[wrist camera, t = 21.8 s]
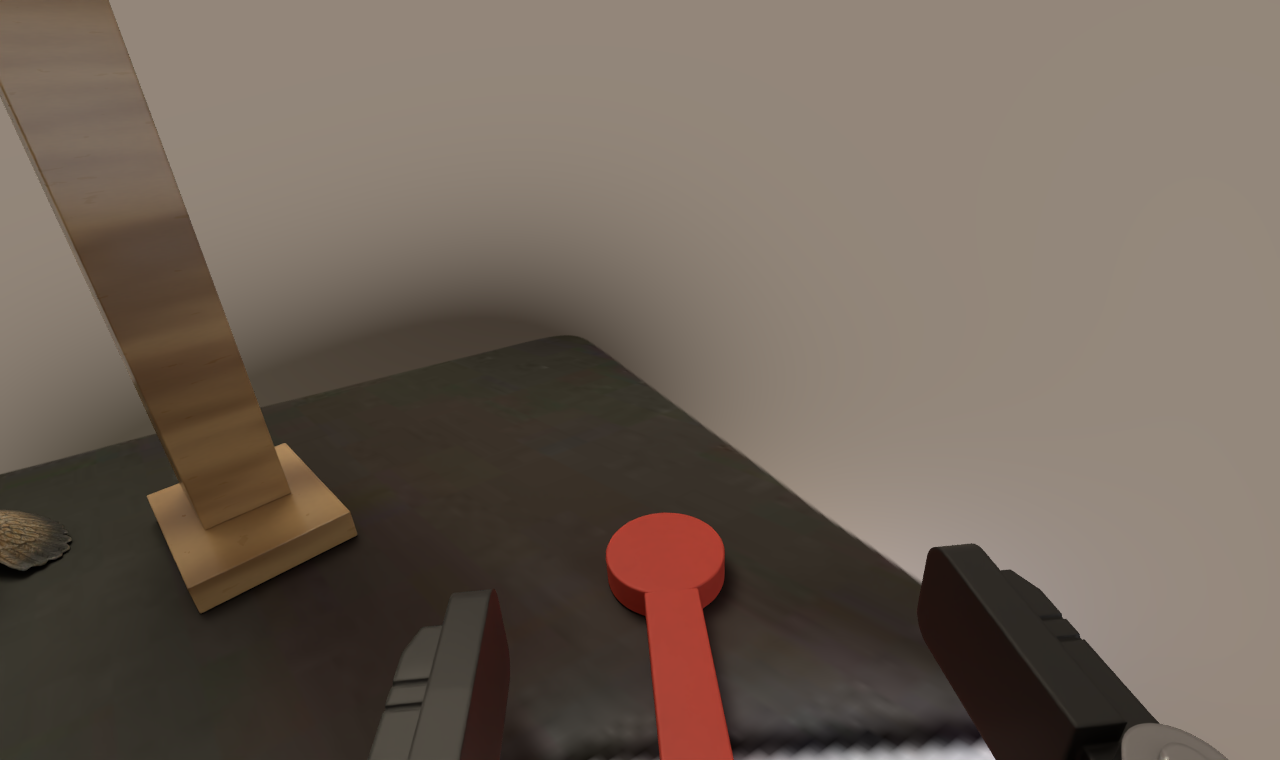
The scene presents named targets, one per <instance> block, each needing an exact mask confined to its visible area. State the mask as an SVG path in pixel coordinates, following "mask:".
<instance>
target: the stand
mask: <svg viewBox="0 0 1280 760" xmlns="http://www.w3.org/2000/svg"><path fill="white" fill-rule="evenodd" d="M0 97H1V99H2V102H3V104H4V106H5V108H6V110H7V112H8V114H9V117H10V119H11V120H12V123H13V125H14V127H15V130H16V132H17V134H18V136H19V138H20V140H21V142H22V145H23V147H24V149H25V151H26V153H27V155H28V158H29V160H30V162H31V164H32V166H33V168H34V171H35V173H36V175H37V177H38V179H39V181H40V183H41V186H42V188H43V190H44V192H45V194H46V196H47V199H48V201H49V203H50V205H51V207H52V209H53V211H54V214H55V216H56V218H57V220H58V222H59V224H60V226H61V229H62V231H63V233H64V235H65V237H66V239H67V242H68V243H69V246H70V248H71V250H72V252H73V255H74V257H75V259H76V261H77V263H78V265H79V267H80V270H81V272H82V274H83V276H84V278H85V280H86V283H87V285H88V287H89V289H90V291H91V293H92V296H93V298H94V300H95V302H96V304H97V306H98V309H99V311H100V313H101V315H102V317H103V319H104V321H105V323H106V326H107V328H108V330H109V332H110V334H111V336H112V338H113V341H114V343H115V345H116V347H117V349H118V352H119V354H120V356H121V358H122V360H123V362H124V365H125V366H126V369H127V371H128V373H129V375H130V377H131V379H132V382H133V384H134V386H135V388H136V390H137V392H138V395H139V397H140V399H141V401H142V403H143V406H144V407H145V410H146V412H147V414H148V416H149V418H150V421H151V423H152V425H153V427H154V429H155V431H156V434H157V436H158V438H159V440H160V442H161V444H162V446H163V449H164V451H165V453H166V455H167V457H168V459H169V462H170V464H171V466H172V468H173V470H174V472H175V475H176V477H177V479H178V481H179V484H176V485H174V486H171V487H169V488H166V489H163V490H161V491H158V492H156V493H153V494H150V495H148V496H147V499H148V501H149V503H150V505H151V508H152V510H153V512H154V515H155V517H156V519H157V521H158V524H159V526H160V528H161V530H162V533H163V535H164V537H165V539H166V542H167V544H168V546H169V548H170V551H171V553H172V555H173V557H174V560H175V562H176V564H177V567H178V569H179V571H180V573H181V576H182V578H183V580H184V582H185V585H186V587H187V589H188V591H189V593H190V595H191V597H192V599H193V601H194V603H195V605H196V607H197V609H198V611H199V613H200V614H201V613H203V612H205V611H207V610H209V609H211V608H213V607H215V606H217V605H219V604H221V603H223V602H225V601H227V600H229V599H231V598H233V597H235V596H237V595H239V594H241V593H243V592H245V591H247V590H249V589H251V588H253V587H255V586H257V585H259V584H261V583H263V582H265V581H267V580H269V579H271V578H273V577H275V576H277V575H279V574H281V573H283V572H285V571H287V570H289V569H291V568H293V567H295V566H297V565H299V564H301V563H303V562H305V561H307V560H309V559H311V558H313V557H315V556H317V555H319V554H321V553H323V552H325V551H327V550H329V549H331V548H333V547H335V546H337V545H339V544H341V543H343V542H345V541H347V540H349V539H351V538H353V537H355V536H357V531H356V528H355V525H354V522H353V519H352V516H351V513H350V511H349V510H348V509H347V508H346V507H345V506H344V505H343V504H342V503H341V502H340V501H339V500H338V498H337V497H336V496H335V495H334V494H333V493H332V492H331V491H330V490H329V489H328V488H327V487H326V486H325V485H324V484H323V483H322V481H321V480H320V479H319V478H318V477H317V476H316V475H315V474H314V473H313V472H312V471H311V470H310V469H309V468H308V467H307V466H306V464H305V463H304V462H303V461H302V460H301V459H300V458H299V457H298V456H297V455H296V454H295V453H294V452H293V451H292V450H291V449H290V447H289V446H288V445H287V444H286V443H283V444H281V445H278V446H276V447H274V444H273V442H272V439H271V436H270V434H269V431H268V428H267V426H266V423H265V420H264V418H263V415H262V412H261V409H260V407H259V404H258V401H257V399H256V396H255V393H254V391H253V388H252V385H251V383H250V380H249V377H248V375H247V372H246V369H245V367H244V364H243V361H242V358H241V356H240V353H239V351H238V348H237V345H236V342H235V339H234V337H233V334H232V331H231V329H230V326H229V323H228V321H227V318H226V315H225V313H224V310H223V307H222V305H221V302H220V299H219V297H218V294H217V291H216V288H215V286H214V283H213V280H212V277H211V275H210V272H209V269H208V267H207V264H206V261H205V259H204V256H203V253H202V251H201V248H200V246H199V242H198V240H197V237H196V234H195V232H194V229H193V226H192V224H191V221H190V218H189V216H188V213H187V210H186V207H185V205H184V202H183V199H182V197H181V194H180V191H179V189H178V186H177V183H176V181H175V178H174V175H173V172H172V170H171V167H170V164H169V162H168V159H167V156H166V154H165V151H164V148H163V146H162V143H161V140H160V138H159V135H158V132H157V129H156V127H155V124H154V121H153V119H152V116H151V113H150V111H149V108H148V106H147V102H146V100H145V97H144V95H143V92H142V89H141V86H140V84H139V81H138V78H137V75H136V73H135V70H134V67H133V65H132V62H131V59H130V57H129V54H128V51H127V49H126V46H125V43H124V41H123V38H122V35H121V32H120V30H119V27H118V24H117V22H116V19H115V16H114V14H113V11H112V8H111V5H110V3H109V0H0Z"/></svg>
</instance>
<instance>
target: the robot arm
mask: <svg viewBox="0 0 1280 760" xmlns="http://www.w3.org/2000/svg"><path fill="white" fill-rule="evenodd" d="M917 615H918V622H919V627H920V630H921V633H922V636H923V638H924V641H925V642H926V644H927V646H928V648H929V649H930V651H931V653H932V654H933V656H934V658H935V659H936V661H937V663H938V664H939V666H940V668H941V669H942V671H943V673H944V674H945V676H946V678H947V679H948V681H949V683H950V684H951V686H952V688H953V689H954V691H955V693H956V694H957V696H958V698H959V699H960V701H961V703H962V704H963V706H964V708H965V709H966V711H967V713H968V714H969V716H970V718H971V719H972V721H973V723H974V724H975V726H976V728H977V729H978V731H979V733H980V734H981V736H982V738H983V739H984V741H985V743H986V744H987V746H988V748H989V749H990V751H991V753H992V754H993V756H994V758H995V759H996V760H1228V759H1227V758H1226V757H1225V756H1224V755H1223V754H1221V753H1220V752H1219V751H1217V750H1216V749H1215V748H1213V747H1212V746H1210V745H1209V744H1207V743H1206V742H1204V741H1203V740H1201V739H1199V738H1197V737H1196V736H1194V735H1192V734H1190V733H1187V732H1185V731H1183V730H1180V729H1177V728H1174V727H1171V726H1167V725H1163V724H1159V722H1158V721H1157V720H1156V719H1155V718H1154V717H1153V716H1152V715H1151V714H1150V713H1149V712H1148V711H1147V709H1146V708H1145V707H1144V706H1143V705H1142V704H1141V703H1140V702H1139V701H1138V699H1137V698H1136V697H1135V696H1134V695H1133V694H1132V693H1131V691H1130V690H1129V689H1128V688H1127V687H1126V686H1125V685H1124V684H1123V683H1122V682H1121V680H1120V679H1119V678H1118V677H1117V676H1116V675H1115V673H1114V672H1113V671H1112V670H1111V669H1110V668H1109V667H1108V666H1107V664H1106V663H1105V662H1104V661H1103V660H1102V659H1101V658H1100V657H1099V655H1098V654H1097V653H1096V652H1095V651H1094V650H1093V649H1092V648H1091V646H1090V645H1089V644H1088V643H1087V642H1086V641H1085V640H1082V639H1081V638H1080V634H1079V633H1078V632H1077V631H1076V629H1075V628H1074V627H1073V626H1072V625H1071V624H1070V623H1069V622H1068V620H1066V619H1063V618H1062V614H1061V613H1060V611H1059V610H1057V608H1056V607H1055V606H1054V605H1053V603H1052V602H1051V601H1050V600H1049V599H1048V598H1047V597H1046V596H1045V594H1044V593H1043V592H1042V591H1041V590H1040V589H1039V588H1037V587H1035V586H1034V585H1032V584H1031V583H1030V582H1028V581H1027V580H1025V579H1024V578H1022V577H1021V576H1019V575H1018V574H1016V573H1015V572H1013V571H1012V570H1001V571H1000V570H999V568H998V567H997V566H996V565H995V564H994V563H993V561H992V560H991V559H990V558H989V556H987V554H986V553H985V552H984V551H983V549H982V548H981V547H979V546H978V545H976V544H963V545H952V546H943V547H933V548H931V549H930V551H929V553H928V555H927V560H926V565H925V571H924V575H923V581H922V586H921V591H920V596H919V602H918V608H917ZM509 681H510V658H509V649H508V644H507V639H506V634H505V629H504V624H503V620H502V615H501V610H500V605H499V601H498V596H497V593H496V591H495V589H490V590H480V591H469V592H459V593H453V594H452V595H451V597H450V599H449V602H448V606H447V610H446V614H445V618H444V621H443V625H438V626H428V627H422V628H421V629H420V630H419V632H418V633H417V634H416V635H415V637H414V638H413V639H412V641H411V642H410V643H409V645H408V646H407V647H406V648H405V650H404V651H403V652H402V654H401V658H400V661H399V664H398V667H397V670H396V673H395V676H394V679H393V687H391V689H390V692H389V695H388V698H387V701H386V704H385V712H383V714H382V717H381V720H380V723H379V726H378V729H377V733H376V736H375V739H374V742H373V745H372V748H371V751H370V754H369V757H368V760H500V753H501V746H502V738H503V730H504V722H505V714H506V706H507V698H508V690H509Z"/></svg>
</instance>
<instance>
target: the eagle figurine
mask: <svg viewBox="0 0 1280 760" xmlns="http://www.w3.org/2000/svg"><path fill="white" fill-rule="evenodd" d="M62 528H64V526H63V525H61V524H59V523H58V522H57V521H52V520H51V519H50V518H46V517H41V515H38V514H31V513H26V512H21V511H17V510H0V563H2V564H4V565H6V566H8V567H10V568H12V569H17V570H19V571H26V570H28V569H29V568H30V567H35V566H42V565H45V564H46V563H47V561H48V560H53V559H57V558H59V557H61V556H62V555H63V554H62V553H63V552H65V551H68V550H69V549H70V546H69V545H68V544H67V543H68V542H70V541H71V537H69V536H67V535H63V534H67V533H68V530H65V529H62Z"/></svg>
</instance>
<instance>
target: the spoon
mask: <svg viewBox="0 0 1280 760" xmlns="http://www.w3.org/2000/svg"><path fill="white" fill-rule="evenodd" d="M606 563H607V572H608V581H609V585H610V589H611V591H612V592H613V594H614V596H615V597H616V598H617V600H618V601H620V602H621V603H622V604H623V605H624V606H625V607H627V608H628V609H630V610H632V611H634V612H636V613H639V614H641V615H645V616H646V624H647V634H648V644H649V654H650V664H651V674H652V684H653V694H654V704H655V714H656V724H657V735H658V745H659V755H660V760H734V759H733V754H732V749H731V744H730V739H729V735H728V730H727V725H726V720H725V715H724V710H723V706H722V701H721V696H720V691H719V686H718V682H717V677H716V672H715V667H714V662H713V657H712V653H711V648H710V643H709V638H708V633H707V629H706V624H705V619H704V614H703V608H704V607H706V606H707V605H709V604H710V603H711V602H712V601H713V600H714V599H715V598H716V596H717V595H718V594H719V592H720V590H721V589H722V586H723V583H724V578H725V550H724V545H723V542H722V540H721V538H720V537H719V535H718V534H717V533H716V531H715V530H714V529H713V528H712V527H710V526H709V525H708V524H706V523H705V522H703V521H701V520H699V519H697V518H694V517H691V516H688V515H683V514H677V513H657V514H650V515H646V516H643V517H639V518H637V519H635V520H632V521H630V522H629V523H627V524H625V525H624V526H622V527H621V528H620V529H619V530H618V531H617V532H616V533H615V534H614V535H613V537H612V538H611V540H610V542H609V544H608V546H607V550H606Z"/></svg>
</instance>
